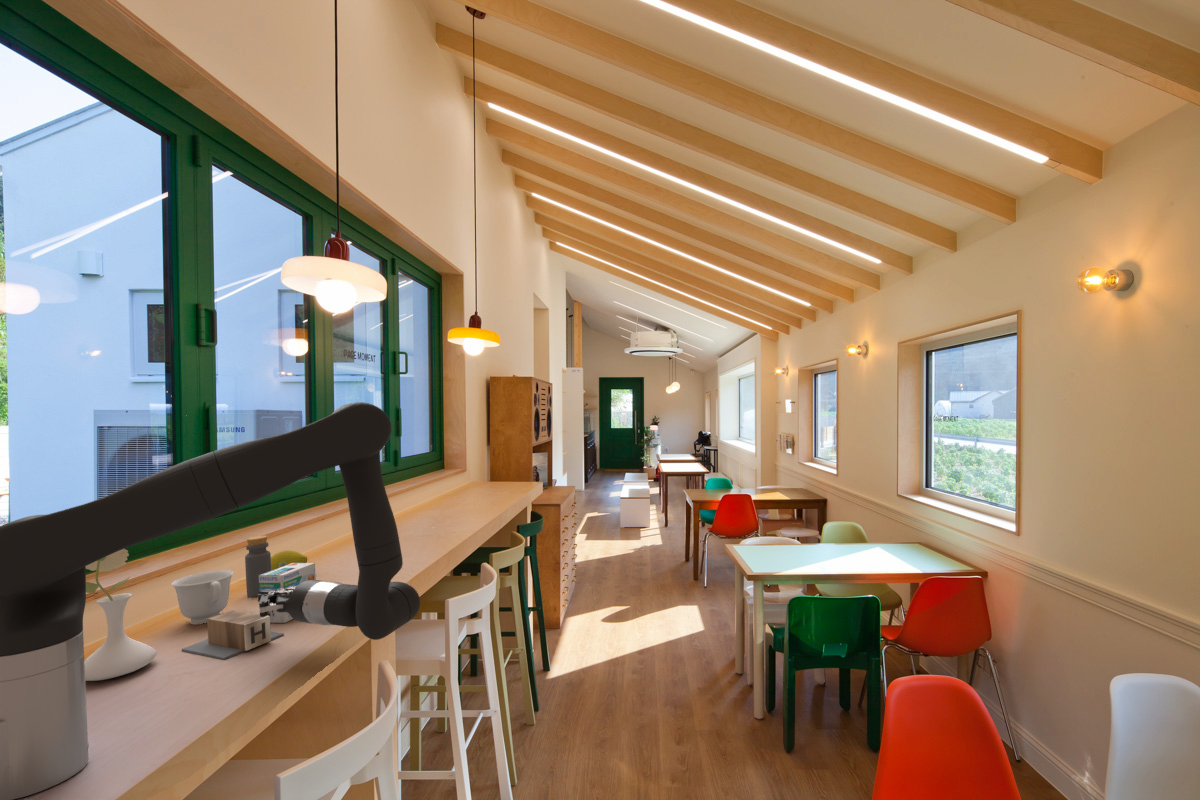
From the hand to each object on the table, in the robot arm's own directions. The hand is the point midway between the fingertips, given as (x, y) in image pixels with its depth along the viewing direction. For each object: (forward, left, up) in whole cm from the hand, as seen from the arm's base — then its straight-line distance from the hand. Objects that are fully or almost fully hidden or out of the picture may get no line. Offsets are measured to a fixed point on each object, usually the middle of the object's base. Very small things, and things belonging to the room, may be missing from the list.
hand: (261, 595), depth 110 cm
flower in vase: (-18, +18, -11) cm, 27 cm away
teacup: (+4, +32, -11) cm, 33 cm away
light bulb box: (+14, +16, -11) cm, 24 cm away
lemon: (+33, +50, -11) cm, 60 cm away
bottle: (+21, +42, -11) cm, 48 cm away
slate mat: (-1, +10, -10) cm, 14 cm away
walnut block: (0, +2, -8) cm, 8 cm away
